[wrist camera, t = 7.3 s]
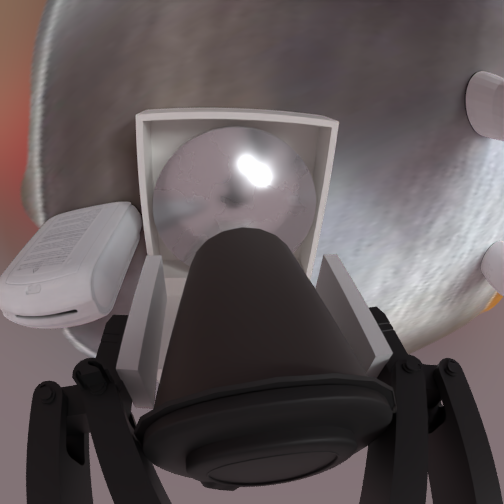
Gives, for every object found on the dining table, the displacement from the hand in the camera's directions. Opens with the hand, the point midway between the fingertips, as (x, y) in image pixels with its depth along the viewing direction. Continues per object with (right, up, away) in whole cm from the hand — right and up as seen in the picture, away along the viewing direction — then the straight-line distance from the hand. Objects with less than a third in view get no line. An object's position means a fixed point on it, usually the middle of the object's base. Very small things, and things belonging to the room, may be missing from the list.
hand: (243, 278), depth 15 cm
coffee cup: (0, 0, 0) cm, 0 cm away
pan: (-1, +6, +9) cm, 11 cm away
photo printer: (-14, +4, +10) cm, 18 cm away
